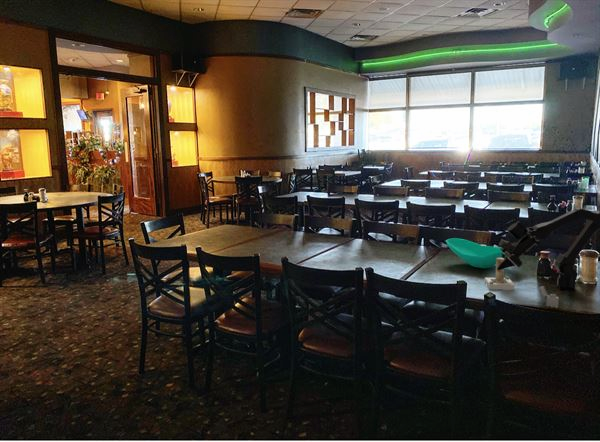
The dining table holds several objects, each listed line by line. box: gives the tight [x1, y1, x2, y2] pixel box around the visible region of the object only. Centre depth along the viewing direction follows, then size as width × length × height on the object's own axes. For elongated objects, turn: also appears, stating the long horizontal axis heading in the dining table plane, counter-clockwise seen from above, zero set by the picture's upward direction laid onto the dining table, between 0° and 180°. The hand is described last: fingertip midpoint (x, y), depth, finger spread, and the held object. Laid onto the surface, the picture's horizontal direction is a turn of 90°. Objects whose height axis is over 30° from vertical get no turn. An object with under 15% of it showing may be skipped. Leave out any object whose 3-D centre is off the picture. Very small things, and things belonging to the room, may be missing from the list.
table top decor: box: [445, 237, 503, 269], centre depth 256 cm, size 40×28×13 cm
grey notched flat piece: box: [539, 285, 560, 309], centre depth 195 cm, size 7×2×8 cm, turn 47°
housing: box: [484, 276, 516, 291], centre depth 223 cm, size 11×11×3 cm
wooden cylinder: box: [495, 258, 505, 283], centre depth 222 cm, size 3×3×12 cm
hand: (497, 268), depth 222 cm, fingers closed on wooden cylinder, 3 cm apart
